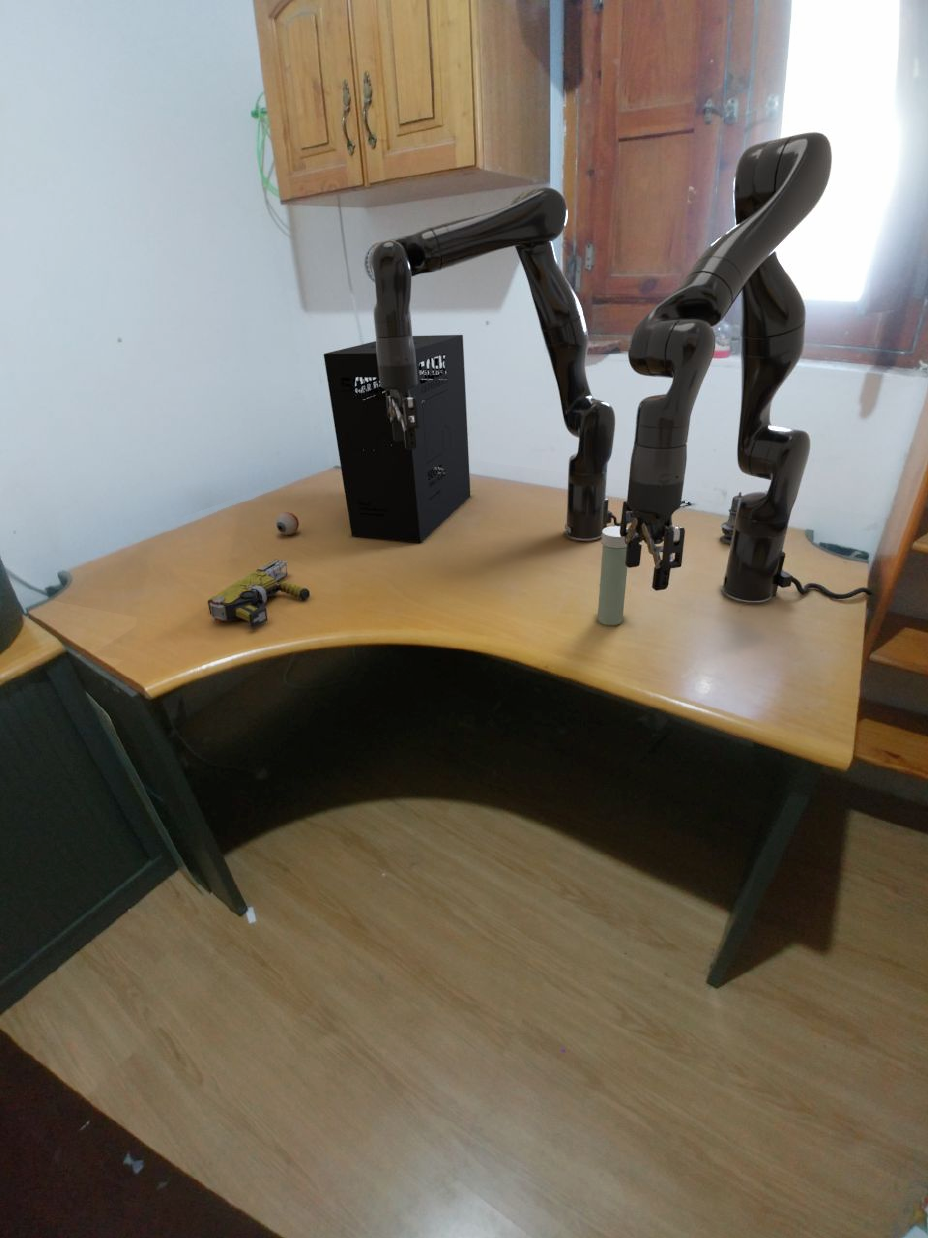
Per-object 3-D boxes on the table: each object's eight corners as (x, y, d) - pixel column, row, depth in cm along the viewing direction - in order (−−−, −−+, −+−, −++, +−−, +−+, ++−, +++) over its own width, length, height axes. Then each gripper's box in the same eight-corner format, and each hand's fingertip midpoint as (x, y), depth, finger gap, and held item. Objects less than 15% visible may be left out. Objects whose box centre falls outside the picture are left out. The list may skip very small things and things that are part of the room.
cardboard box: (410, 491, 192) (395, 336, 169) (470, 495, 185) (462, 334, 162) (351, 535, 161) (323, 353, 139) (420, 542, 155) (402, 352, 132)
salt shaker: (746, 544, 143) (756, 496, 137) (720, 544, 145) (729, 495, 139) (742, 535, 148) (751, 488, 142) (716, 534, 150) (724, 487, 144)
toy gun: (329, 568, 137) (273, 556, 141) (266, 615, 117) (202, 599, 121) (331, 586, 139) (275, 574, 143) (268, 635, 119) (205, 620, 123)
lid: (613, 550, 106) (614, 539, 105) (595, 540, 110) (596, 529, 109) (637, 544, 108) (638, 532, 107) (618, 534, 112) (619, 523, 111)
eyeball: (273, 537, 164) (268, 516, 161) (287, 528, 169) (282, 508, 166) (291, 539, 161) (286, 518, 158) (305, 530, 166) (301, 510, 163)
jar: (607, 627, 115) (614, 540, 106) (592, 617, 118) (598, 532, 109) (627, 621, 116) (636, 535, 107) (612, 611, 120) (619, 526, 111)
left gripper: (426, 362, 113) (433, 449, 121) (404, 355, 125) (411, 435, 133) (387, 367, 111) (397, 455, 119) (369, 359, 123) (378, 440, 131)
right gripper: (709, 485, 80) (692, 593, 88) (655, 458, 92) (644, 556, 100) (658, 492, 79) (645, 601, 87) (609, 464, 91) (602, 562, 99)
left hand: (404, 444), depth 126 cm, fingers open, 8 cm apart
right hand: (645, 577), depth 94 cm, fingers open, 8 cm apart
